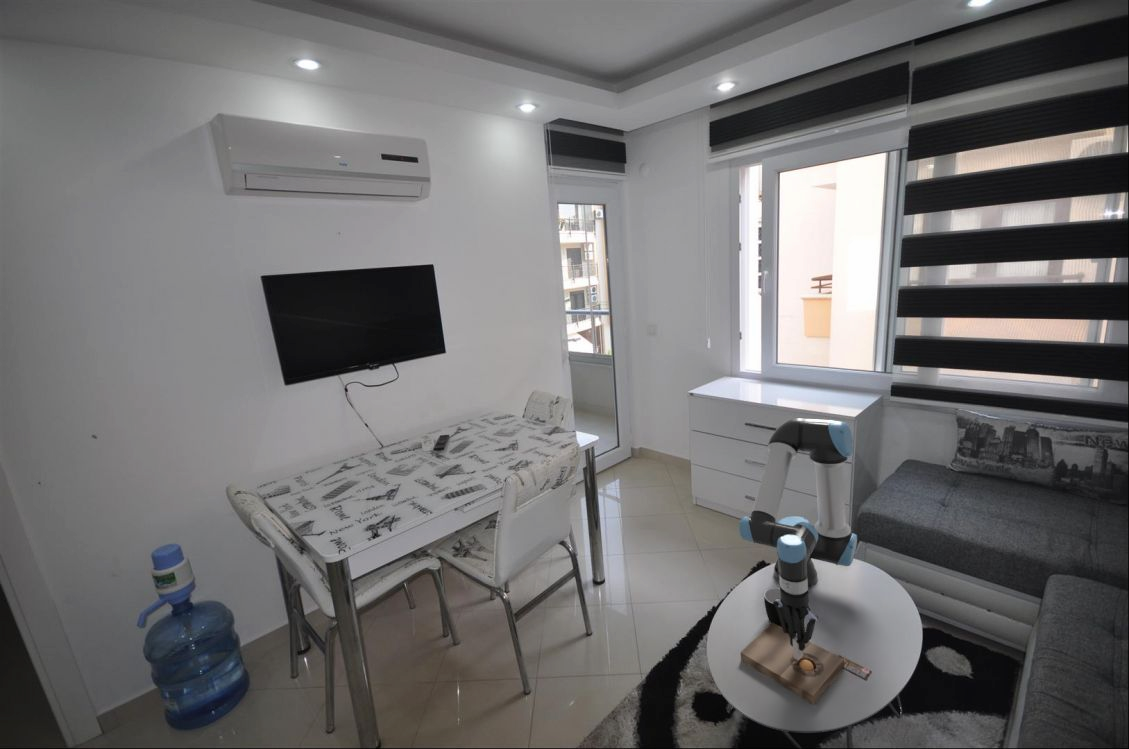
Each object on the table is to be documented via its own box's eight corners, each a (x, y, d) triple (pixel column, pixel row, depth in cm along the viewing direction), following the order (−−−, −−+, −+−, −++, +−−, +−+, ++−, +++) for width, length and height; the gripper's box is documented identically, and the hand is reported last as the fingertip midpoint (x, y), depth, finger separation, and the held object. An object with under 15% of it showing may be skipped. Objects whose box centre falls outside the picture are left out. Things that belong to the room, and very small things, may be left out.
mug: (783, 635, 163) (781, 608, 161) (760, 621, 171) (758, 595, 169) (805, 618, 169) (803, 592, 167) (782, 605, 177) (780, 580, 175)
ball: (802, 663, 151) (803, 654, 150) (815, 672, 148) (816, 662, 147) (796, 672, 149) (797, 662, 147) (809, 680, 146) (811, 671, 144)
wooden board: (741, 660, 156) (740, 652, 156) (772, 630, 166) (772, 622, 166) (813, 704, 138) (813, 695, 137) (844, 667, 148) (843, 659, 147)
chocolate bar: (875, 674, 145) (875, 672, 145) (868, 684, 142) (868, 681, 142) (836, 654, 154) (836, 652, 153) (829, 663, 151) (829, 661, 151)
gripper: (766, 584, 148) (771, 652, 152) (809, 604, 137) (813, 676, 142) (779, 572, 152) (784, 639, 157) (822, 590, 141) (826, 661, 146)
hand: (798, 656), depth 149 cm, fingers closed
